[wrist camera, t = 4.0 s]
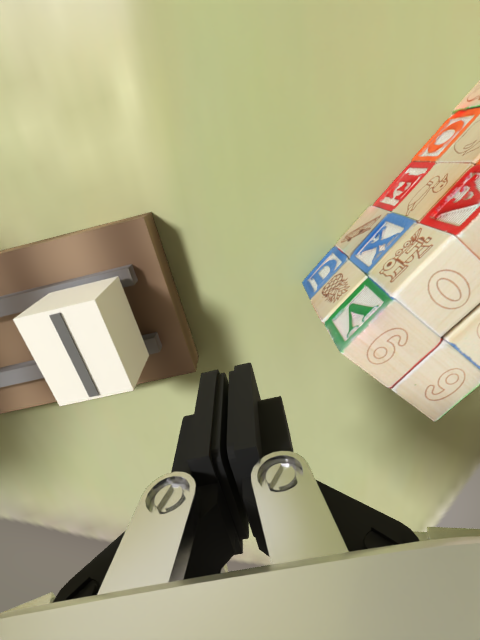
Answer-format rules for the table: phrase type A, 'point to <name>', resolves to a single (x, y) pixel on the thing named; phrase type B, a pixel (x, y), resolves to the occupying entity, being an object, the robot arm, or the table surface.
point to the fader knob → (85, 341)
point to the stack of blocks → (414, 274)
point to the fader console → (82, 268)
